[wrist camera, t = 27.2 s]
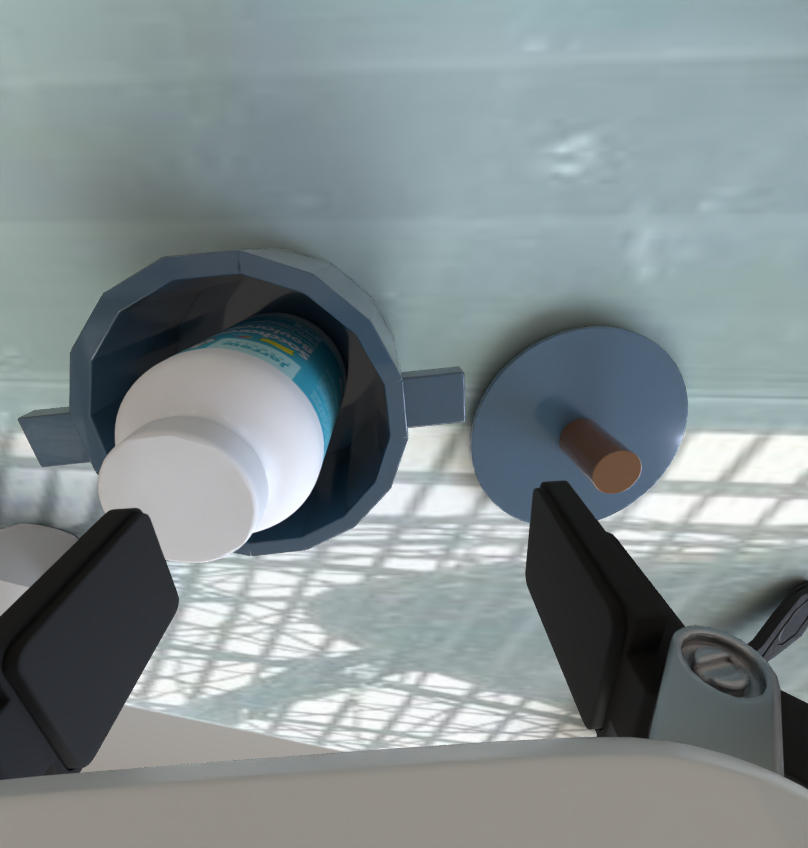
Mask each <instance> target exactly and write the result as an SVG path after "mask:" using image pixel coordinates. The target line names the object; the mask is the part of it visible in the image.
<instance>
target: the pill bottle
mask: <svg viewBox="0 0 808 848" xmlns="http://www.w3.org/2000/svg"><path fill="white" fill-rule="evenodd" d="M345 388H346V372H345V367H344V363H343V360H342V357H341V355H340V353H339V351H338V349H337V347H336V346H335V344H334V343H333V341H332V340H331V339H330V338H329V337H328V336H327V335H326V334H325V333H324V332H323V331H322V330H321V329H320V328H319V327H317V326H316V325H314V324H313V323H311V322H309V321H307V320H305V319H303V318H301V317H298V316H295V315H291V314H287V313H264V314H259V315H255V316H252V317H249V318H247V319H245V320H243V321H241V322H239V323H237V324H235V325H233V326H231V327H229V328H227V329H225V330H223V331H221V332H219V333H217V334H215V335H213V336H211V337H209V338H208V339H206V340H204V341H202V342H200V343H198V344H196V345H194V346H192V347H190V348H188V349H186V350H184V351H182V352H180V353H177V354H175V355H173V356H171V357H170V358H168V359H166V360H164V361H162V362H160V363H159V364H157V365H155V366H153V367H152V368H151V369H149V370H148V371H147V372H145V373H144V374H143V375H142V376H141V377H140V378H139V379H138V380H137V381H136V382H135V383H134V384H133V385H132V387H131V388H130V389H129V391H128V392H127V394H126V395H125V397H124V399H123V401H122V403H121V405H120V408H119V411H118V414H117V418H116V424H115V447H114V448H113V449H112V450H111V451H110V452H109V454H108V455H107V456H106V458H105V459H104V461H103V464H102V466H101V468H100V471H99V476H98V493H99V499H100V502H101V505H102V508H103V510H104V512H105V513H106V512H108V511H109V510H112V509H125V508H139V509H140V510H141V511H142V512H143V513H145V514H147V515H149V517H150V519H151V522H152V524H153V527H154V530H155V533H156V535H157V538H158V541H159V544H160V547H161V549H162V552H163V555H164V558H165V559H167V560H171V561H177V562H184V563H202V562H209V561H214V560H217V559H220V558H223V557H225V556H228V555H229V554H231V553H233V552H234V551H236V550H237V549H239V548H240V547H241V546H242V545H243V544H244V543H245V542H246V541H247V540H248V539H249V537H250V536H251V534H252V533H254V532H258V531H261V530H264V529H267V528H269V527H272V526H274V525H276V524H278V523H280V522H281V521H283V520H284V519H286V518H287V517H289V516H290V515H291V514H293V513H294V512H295V511H296V510H297V509H298V508H299V507H300V506H301V505H302V504H303V503H304V502H305V500H306V499H307V497H308V496H309V494H310V493H311V491H312V489H313V487H314V485H315V483H316V481H317V478H318V475H319V472H320V470H321V467H322V463H323V460H324V457H325V454H326V451H327V448H328V444H329V441H330V438H331V435H332V432H333V429H334V426H335V423H336V420H337V417H338V414H339V411H340V408H341V404H342V401H343V398H344V394H345Z"/></svg>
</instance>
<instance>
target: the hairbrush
mask: <svg viewBox="0 0 808 848" xmlns="http://www.w3.org/2000/svg"><path fill="white" fill-rule="evenodd" d="M807 627H808V581H806V582H805V583H803V584H801V585H800V586H798V587H796V588H795V589H793V590H791V591H790V592H789V593H788V595H787V596H786V597H785V598H784V600H783V601H782V602H781V603H780V605H779V606H778V607H777V608H776V610H775V611H774V612H773V613H772V615H771V616H770V618H769V619H768V620H767V622H766V623H765V624H764V626H763V627H762V628H761V630H760V631H759V632H758V634H757V635H756V636H755V638H754V639H753V640H752V641H751V642H749V643H748V644H747V645H749V646H750V647H752V648H753V649H754V650H756V651H757V652H758V653H759V654H760V655H761V656H762V657H763V658H764V659H765V660H766V661H767V662H768V661H769V660H771V659H772V658H774V657H775V656H776V655H778V654H779V653H780V652H782V651H783V650H784V649H785V648H787V647H788V646H789V645H790V644H792V643H793V642H794V641H796V640H797V639H798V638H799V637H801V636H802V634H803V633H804V631H805V630H806V628H807ZM597 737H598V736H597Z"/></svg>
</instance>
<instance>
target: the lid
mask: <svg viewBox="0 0 808 848" xmlns="http://www.w3.org/2000/svg"><path fill="white" fill-rule="evenodd" d="M687 415H688V399H687V393H686V387H685V384H684V381H683V378H682V375H681V373H680V371H679V369H678V368H677V366H676V364H675V363H674V361H673V360H672V359H671V357H670V356H669V355H668V354H667V353H666V352H665V351H664V350H663V349H662V348H661V347H660V346H659V345H657V344H656V343H654V342H653V341H651V340H650V339H648V338H647V337H644V336H642V335H640V334H637V333H635V332H632V331H629V330H625V329H621V328H617V327H609V326H585V327H579V328H573V329H569V330H565V331H562V332H559V333H555V334H553V335H551V336H548V337H546V338H544V339H542V340H540V341H538V342H536V343H534V344H533V345H531V346H529V347H528V348H526V349H525V350H523V351H522V352H521V353H519V354H518V355H517V356H515V357H514V358H513V359H512V360H511V361H510V362H509V363H508V364H507V365H506V366H505V367H503V368H502V369H501V371H500V372H499V373H498V374H497V376H496V377H495V378H494V379H493V380H492V382H491V383H490V385H489V386H488V388H487V389H486V391H485V393H484V394H483V396H482V398H481V400H480V403H479V405H478V407H477V409H476V413H475V416H474V419H473V422H472V428H471V433H470V454H471V461H472V465H473V469H474V472H475V474H476V476H477V479H478V481H479V483H480V485H481V487H482V488H483V490H484V492H485V493H486V495H487V496H488V497H489V498H490V499H491V500H492V502H493V503H494V504H496V505H497V506H498V507H499V508H500V509H502V510H503V511H504V512H506V513H508V514H509V515H511V516H513V517H515V518H517V519H519V520H521V521H524V522H527V523H530V517H531V507H532V496H533V490H534V489H535V488H540V485H541V483H542V482H547V481H563V480H565V481H567V482H568V483H569V484H570V485H571V486H572V488H573V489H574V490H575V492H576V493H577V494H578V496H579V497H580V498H581V500H582V501H583V502H584V504H585V505H586V506H587V507H588V509H589V510H590V511H591V513H592V514H593V515H594V517H595V518H596V519H597V520H600V519H603V518H605V517H608V516H610V515H612V514H614V513H616V512H618V511H620V510H622V509H623V508H625V507H627V506H628V505H630V504H631V503H633V502H634V501H636V500H637V499H638V498H639V497H641V496H642V495H643V494H645V493H646V492H647V491H648V490H649V489H650V488H651V487H652V486H653V485H654V484H655V483H656V482H657V481H658V479H659V478H660V477H661V476H662V475H663V474H664V472H665V471H666V469H667V468H668V466H669V465H670V464H671V462H672V460H673V458H674V456H675V455H676V453H677V451H678V448H679V446H680V444H681V441H682V439H683V435H684V431H685V428H686V422H687Z"/></svg>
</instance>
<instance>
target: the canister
mask: <svg viewBox="0 0 808 848" xmlns="http://www.w3.org/2000/svg"><path fill="white" fill-rule="evenodd" d="M264 313H287V314H291V315H295V316H298V317H301V318H303V319H305V320H307V321H309V322H311V323H313V324H314V325H316V326H317V327H319V328H320V329H321V330H322V331H323V332H324V333H325V334H326V335H327V336H328V337H329V338H330V339H331V340H332V341H333V343H334V344H335V346H336V347H337V349H338V351H339V353H340V355H341V357H342V360H343V363H344V367H345V372H346V388H345V394H344V398H343V401H342V404H341V408H340V411H339V414H338V417H337V420H336V423H335V426H334V429H333V432H332V435H331V438H330V441H329V444H328V448H327V451H326V454H325V457H324V460H323V463H322V467H321V470H320V472H319V475H318V478H317V481H316V483H315V485H314V487H313V489H312V491H311V493H310V494H309V496H308V497H307V499H306V500H305V502H304V503H303V504H302V505H301V506H300V507H299V508H298V509H297V510H296V511H295V512H294V513H293V514H291V515H290V516H289V517H287V518H286V519H284V520H283V521H281V522H280V523H278V524H276V525H274V526H272V527H269V528H267V529H264V530H261V531H258V532H254V533H252V534H251V536H250V537H249V539H248V540H247V541H246V542H245V543H244V544H243V545H242V546H241V547H240V548H239V549H237V550H236V551H234V552H233V553H237V554H242V555H247V556H251V555H252V556H259V555H267V554H276V553H285V552H293V551H302V550H306V549H307V550H308V549H310V548H312V547H314V546H316V545H318V544H320V543H323V542H325V541H327V540H329V539H331V538H333V537H335V536H337V535H339V534H341V533H344V532H346V531H348V530H350V529H352V528H354V527H355V526H356V525H357V524H358V523H359V522H360V521H361V520H362V519H363V518H364V517H365V516H366V515H367V514H368V512H369V511H370V510H371V509H372V508H373V507H374V506H375V505H376V504H377V503H378V502H379V501H380V500H381V499H382V497H383V496H384V495H385V494H386V493H387V492H388V491H389V490H390V489H391V487H392V484H393V481H394V478H395V475H396V472H397V469H398V467H399V464H400V461H401V458H402V455H403V452H404V449H405V447H406V444H407V441H408V428H413V427H422V426H432V425H441V424H450V423H460V422H465V420H466V418H465V383H464V372H463V370H462V369H461V368H460V367H459V366H458V367H448V368H439V369H429V370H419V371H410V372H401V369H400V364H399V360H398V355H397V351H396V346H395V342H394V338H393V336H392V334H391V332H390V331H389V329H388V327H387V325H386V323H385V321H384V318H383V317H382V315H381V313H380V312H379V310H378V308H377V306H376V304H375V302H374V301H373V299H372V298H371V296H370V295H368V294H367V293H366V292H365V291H364V290H362V289H361V288H360V287H359V286H358V285H357V284H356V283H355V282H354V281H353V280H352V279H350V278H349V277H348V276H346V275H345V274H344V273H342V272H341V271H340V270H339V269H338V268H336V267H335V266H334V265H332V264H330V263H327V262H324V261H321V260H318V259H315V258H313V257H310V256H307V255H303V254H299V253H296V252H293V251H290V250H287V249H284V248H272V249H247V250H230V251H220V252H209V253H198V254H188V255H177V256H166V257H163V258H160V259H158V260H156V261H155V262H153V263H152V264H150V265H148V266H147V267H145V268H143V269H142V270H140V271H139V272H137V273H135V274H134V275H132V276H130V277H129V278H127V279H126V280H124V281H122V282H121V283H119V284H117V285H116V286H114V287H113V288H111V289H109V290H108V291H106V292H104V293H103V295H102V296H101V297H100V299H99V301H98V303H97V305H96V306H95V308H94V310H93V312H92V314H91V315H90V317H89V319H88V321H87V322H86V324H85V326H84V328H83V330H82V331H81V333H80V335H79V337H78V338H77V340H76V342H75V344H74V346H73V347H72V349H71V352H70V399H69V407H60V408H51V409H41V410H34V411H32V412H29V413H27V414H25V415H23V416H21V417H19V418H18V421H19V423H20V425H21V427H22V429H23V431H24V433H25V435H26V437H27V439H28V441H29V443H30V445H31V447H32V449H33V451H34V453H35V455H36V457H37V459H38V461H39V463H40V465H41V467H49V466H58V465H68V464H77V463H86V462H91V463H92V466H93V468H94V470H95V471H97V472H96V473H97V474H98V475H99V471H100V468H101V466H102V464H103V461H104V459H105V458H106V456H107V455H108V454H109V452H110V451H111V450H112V449H113V448H114V447H115V424H116V418H117V414H118V411H119V408H120V405H121V403H122V401H123V399H124V397H125V395H126V394H127V392H128V391H129V389H130V388H131V387H132V385H133V384H134V383H135V382H136V381H137V380H138V379H139V378H140V377H141V376H142V375H143V374H144V373H145V372H147V371H148V370H149V369H151V368H152V367H153V366H155V365H157V364H159V363H160V362H162V361H164V360H166V359H168V358H170V357H171V356H173V355H175V354H177V353H180V352H182V351H184V350H186V349H188V348H190V347H192V346H194V345H196V344H198V343H200V342H202V341H204V340H206V339H208V338H209V337H211V336H213V335H215V334H217V333H219V332H221V331H223V330H225V329H227V328H229V327H231V326H233V325H235V324H237V323H239V322H241V321H243V320H245V319H247V318H249V317H252V316H255V315H259V314H264Z"/></svg>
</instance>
